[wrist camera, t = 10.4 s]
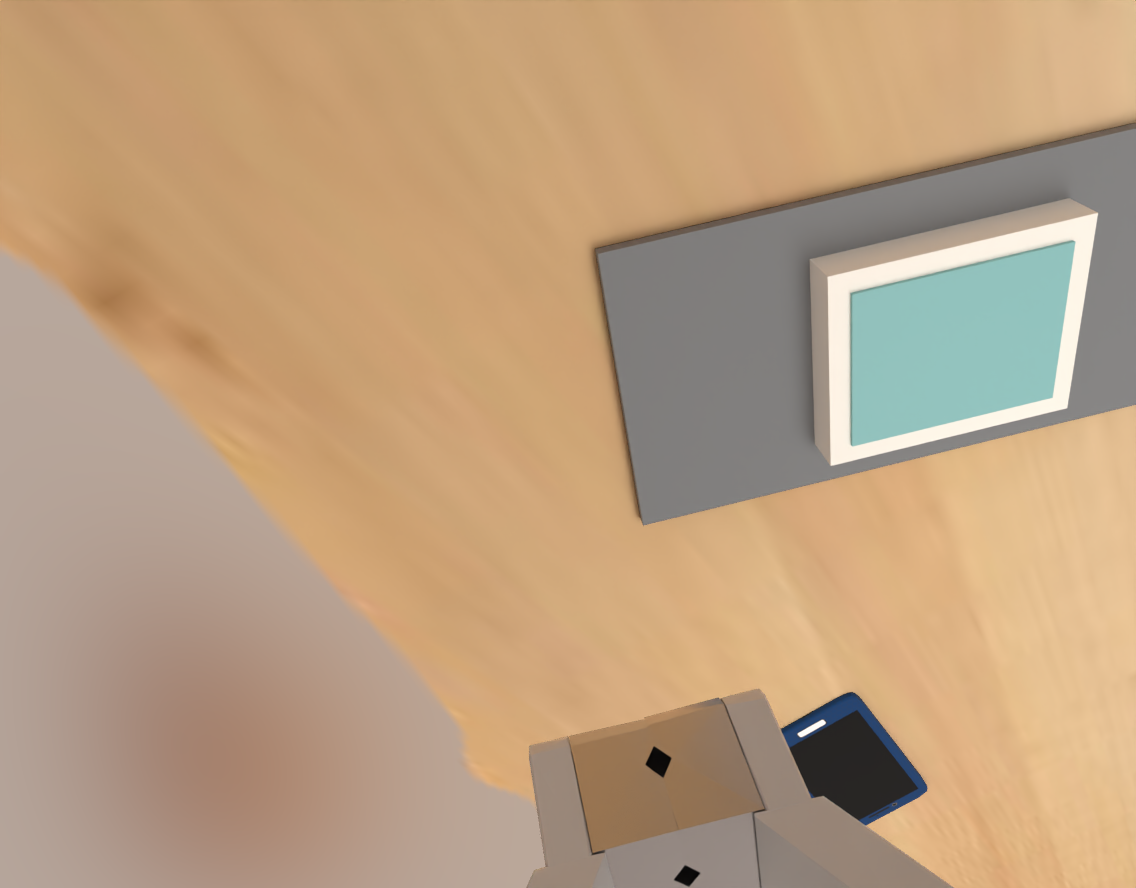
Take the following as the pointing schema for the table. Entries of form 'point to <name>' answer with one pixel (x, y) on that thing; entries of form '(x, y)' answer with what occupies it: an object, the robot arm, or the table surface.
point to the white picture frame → (948, 329)
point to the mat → (783, 319)
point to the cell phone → (852, 760)
